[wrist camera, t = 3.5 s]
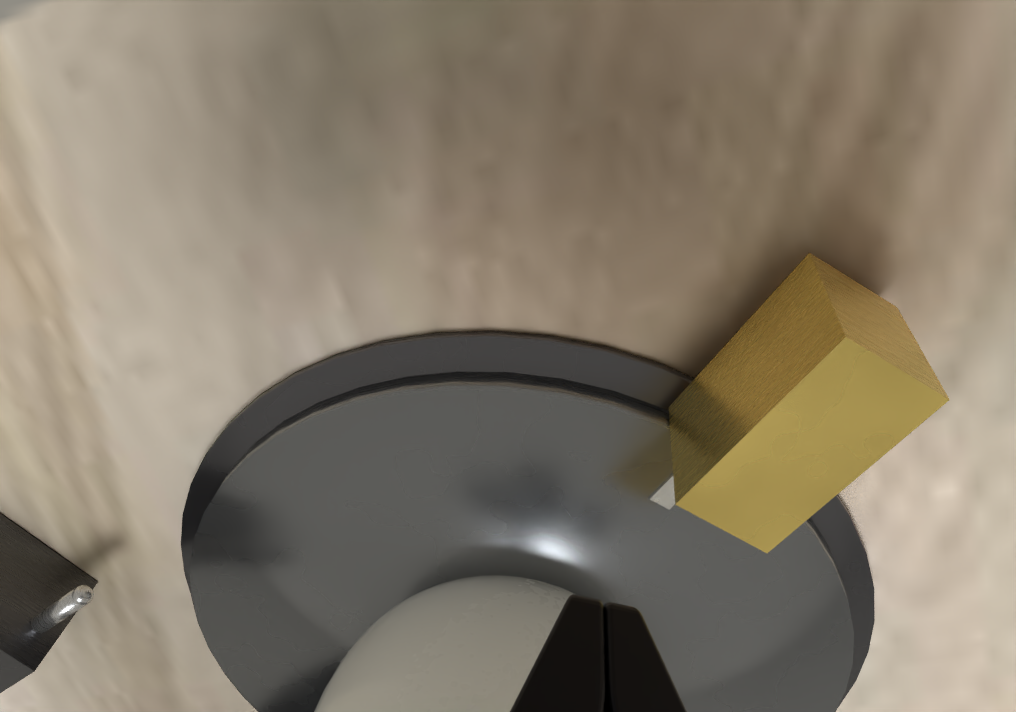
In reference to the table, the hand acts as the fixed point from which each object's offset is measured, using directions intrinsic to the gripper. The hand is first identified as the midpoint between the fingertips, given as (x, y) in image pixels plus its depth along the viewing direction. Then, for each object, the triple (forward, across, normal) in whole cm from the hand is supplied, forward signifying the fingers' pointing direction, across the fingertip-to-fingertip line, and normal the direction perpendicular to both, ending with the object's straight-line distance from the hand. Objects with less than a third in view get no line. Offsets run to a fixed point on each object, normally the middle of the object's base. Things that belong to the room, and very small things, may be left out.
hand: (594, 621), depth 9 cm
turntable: (+10, -1, +11) cm, 15 cm away
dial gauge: (+10, +16, +15) cm, 24 cm away
